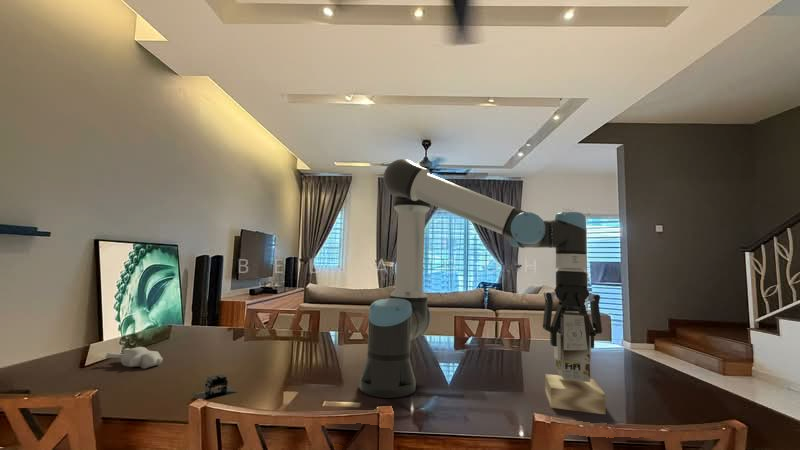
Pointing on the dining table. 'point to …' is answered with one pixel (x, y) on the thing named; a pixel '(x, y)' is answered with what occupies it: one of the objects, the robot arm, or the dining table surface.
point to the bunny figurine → (137, 357)
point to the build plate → (214, 393)
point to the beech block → (574, 394)
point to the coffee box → (574, 346)
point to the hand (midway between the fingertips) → (572, 359)
